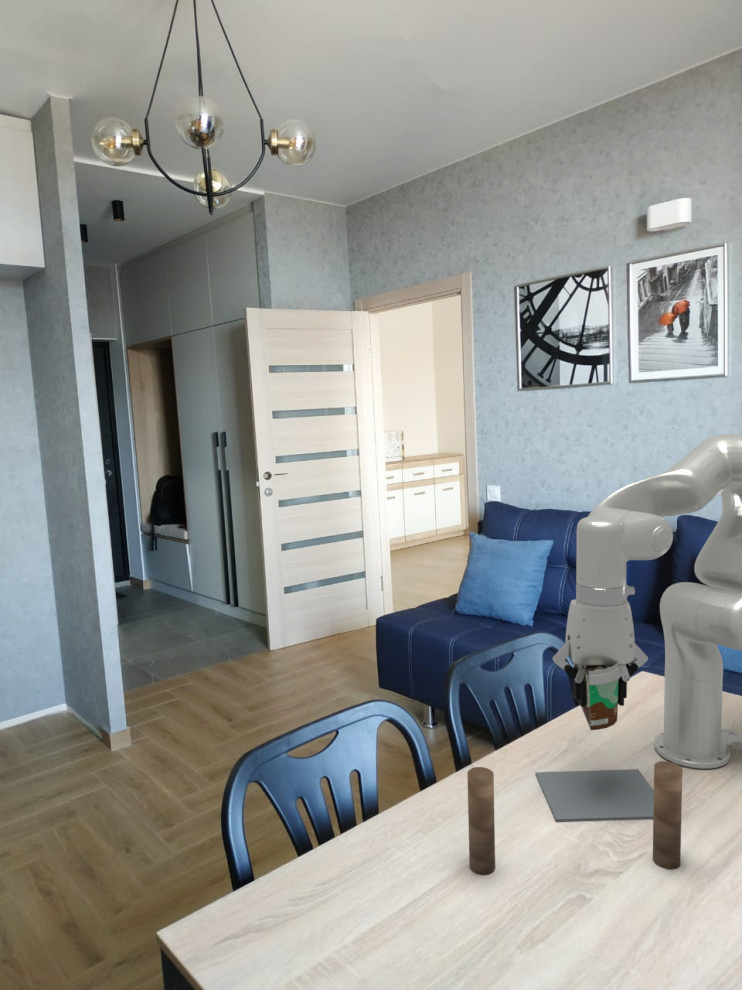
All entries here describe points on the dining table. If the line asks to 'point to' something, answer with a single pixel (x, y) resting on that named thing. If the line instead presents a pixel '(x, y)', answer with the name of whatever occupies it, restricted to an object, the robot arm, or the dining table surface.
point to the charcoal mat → (597, 795)
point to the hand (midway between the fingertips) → (599, 701)
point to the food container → (602, 695)
